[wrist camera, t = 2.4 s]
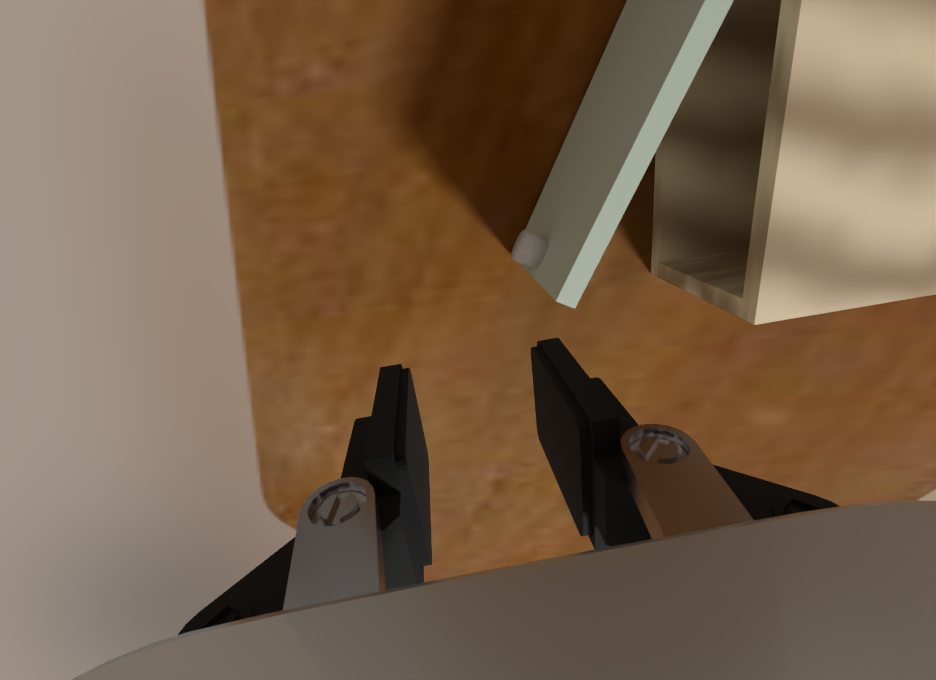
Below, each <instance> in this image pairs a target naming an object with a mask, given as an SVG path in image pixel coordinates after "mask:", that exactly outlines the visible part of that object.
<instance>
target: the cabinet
mask: <svg viewBox="0 0 936 680" xmlns="http://www.w3.org/2000/svg"><path fill="white" fill-rule="evenodd" d="M651 274H653V275H655V276H657V277H659V278H661V279H663V280H665V281H667V282H669V283H671V284H673V285H675V286H677V287H679V288H681V289H683V290H685V291H687V292H689V293H691V294H693V295H695V296H697V297H699V298H701V299H703V300H705V301H707V302H709V303H711V304H713V305H715V306H717V307H719V308H721V309H723V310H725V311H727V312H729V313H731V314H733V315H735V316H737V317H739V318H741V319H743V320H745V321H747V322H749V323H751V324H754V325H757V324H763V323H768V322H774V321H780V320H786V319H792V318H798V317H804V316H810V315H816V314H822V313H828V312H833V311H839V310H845V309H851V308H857V307H863V306H869V305H875V304H881V303H887V302H893V301H898V300H904V299H910V298H916V297H922V296H928V295H934V294H936V0H734V1H733V3H732V5H731V7H730V9H729V10H728V12H727V14H726V16H725V18H724V20H723V22H722V24H721V26H720V28H719V30H718V32H717V34H716V36H715V38H714V40H713V42H712V43H711V45H710V47H709V49H708V51H707V53H706V55H705V57H704V59H703V61H702V63H701V65H700V67H699V69H698V71H697V73H696V75H695V76H694V78H693V80H692V82H691V84H690V86H689V88H688V90H687V92H686V94H685V96H684V98H683V100H682V102H681V104H680V106H679V108H678V109H677V111H676V113H675V115H674V117H673V119H672V121H671V123H670V125H669V127H668V129H667V131H666V133H665V135H664V137H663V139H662V141H661V142H660V144H659V146H658V148H657V150H656V155H655V180H654V206H653V231H652V257H651Z"/></svg>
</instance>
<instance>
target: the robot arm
mask: <svg viewBox="0 0 936 680" xmlns="http://www.w3.org/2000/svg"><path fill="white" fill-rule="evenodd" d="M531 361H532V373H533V385H534V397H535V410H536V422H537V431H538V436H539V440H540V443H541V445H542V447H543V450H544V452H545V454H546V457H547V459H548V461H549V464H550V466H551V468H552V471H553V473H554V475H555V478H556V480H557V482H558V485H559V487H560V489H561V491H562V494H563V496H564V498H565V501H566V503H567V505H568V508H569V510H570V512H571V515H572V517H573V519H574V522H575V524H576V526H577V529H578V531H579V533H580V535H581V536H586V535H589V538H590V540H591V542H592V544H593V546H594V549H595V550H591V551H585V552H580V553H575V554H570V555H564V556H559V557H554V558H548V559H543V560H538V561H533V562H527V563H522V564H517V565H512V566H506V567H501V568H496V569H491V570H486V571H480V572H475V573H470V574H465V575H459V576H454V577H449V578H444V579H439V580H434V581H429V582H424V566H427V565H431V564H432V547H431V517H430V487H429V460H428V452H427V446H426V442H425V437H424V432H423V427H422V423H421V418H420V413H419V408H418V404H417V399H416V394H415V389H414V385H413V380H412V375H411V371H410V368H405V369H403V368H402V365H401V364H398V365H392V366H386V367H381V368H380V372H379V378H378V383H377V389H376V394H375V400H374V405H373V411H372V416H369V417H364V418H358V419H356V420H355V422H354V426H353V430H352V434H351V439H350V443H349V447H348V451H347V455H346V459H345V463H344V467H343V472H342V476H341V478H340V479H337V480H334V481H331V482H328V483H327V484H325V485H323V486H321V487H320V488H318V489H317V490H316V491H314V492H313V493H312V494H311V495H310V496H309V497H308V498H307V500H306V501H305V502H304V504H303V505H302V508H301V511H300V514H299V520H298V525H297V531H296V537H295V538H293V539H292V540H291V541H289V542H288V543H287V544H286V545H284V546H283V547H282V548H280V549H279V550H278V551H277V552H275V553H274V554H273V555H272V556H270V557H269V558H268V559H267V560H265V561H264V562H263V563H262V564H260V565H259V566H257V567H256V568H255V569H254V570H252V571H251V572H250V573H249V574H247V575H246V576H245V577H244V578H243V579H241V580H240V581H238V582H237V583H236V584H235V585H233V586H232V587H231V588H229V589H228V590H227V591H226V592H224V593H223V594H222V595H220V596H219V597H218V598H217V599H215V600H214V601H213V602H212V603H210V604H209V605H208V606H206V607H205V608H204V609H203V610H201V611H200V612H199V613H198V614H197V615H196V616H194V617H193V618H192V619H191V620H190V621H189V622H188V623H187V624H186V625H185V626H184V627H183V629H182V630H181V631H180V633H179V634H178V635H177V636H174V637H171V638H168V639H164V640H161V641H158V642H155V643H151V644H148V645H146V646H144V647H141V648H139V649H136V650H134V651H131V652H129V653H126V654H124V655H121V656H119V657H116V658H114V659H111V660H109V661H107V662H105V663H103V664H101V665H99V666H97V667H95V668H93V669H91V670H89V671H87V672H85V673H83V674H81V675H79V676H78V677H76V678H74V679H72V680H936V501H902V500H899V501H885V502H871V503H861V504H854V505H847V506H838V505H836V504H835V503H833V502H831V501H828V500H826V499H823V498H821V497H818V496H815V495H812V494H809V493H805V492H802V491H799V490H795V489H792V488H789V487H785V486H782V485H779V484H775V483H772V482H769V481H765V480H762V479H759V478H755V477H752V476H749V475H745V474H742V473H739V472H735V471H732V470H729V469H725V468H722V467H719V466H715V465H712V463H711V462H710V461H709V459H708V458H707V457H706V455H705V454H704V453H703V451H702V450H701V449H700V447H699V446H698V445H697V443H696V442H695V441H694V440H693V439H692V438H691V437H690V436H689V435H688V434H686V433H684V432H682V431H681V430H679V429H676V428H673V427H670V426H666V425H660V424H644V425H638V424H637V423H636V421H635V420H634V419H633V418H632V417H631V415H630V414H629V413H628V412H627V411H626V409H625V408H624V407H623V406H622V404H621V403H620V402H619V401H618V400H617V398H616V397H615V396H614V395H613V394H612V392H611V391H610V390H609V389H608V387H607V386H606V385H605V384H604V383H603V381H602V380H601V379H599V378H589V376H588V375H587V374H586V373H585V371H584V370H583V369H582V368H581V366H580V365H579V364H578V362H577V361H576V360H575V359H574V357H573V356H572V355H571V353H570V352H569V351H568V350H567V348H566V347H565V346H564V344H563V343H562V342H561V341H560V339H559V338H553V339H547V340H541V341H538V342H537V347H531Z"/></svg>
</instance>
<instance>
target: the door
mask: <svg viewBox="0 0 936 680" xmlns="http://www.w3.org/2000/svg"><path fill="white" fill-rule="evenodd" d="M733 1H734V0H627V1H626V3H625V6H624V8H623V10H622V12H621V15H620V17H619V19H618V21H617V24H616V26H615V28H614V30H613V33H612V35H611V37H610V39H609V42H608V44H607V46H606V49H605V51H604V53H603V55H602V58H601V60H600V62H599V64H598V67H597V69H596V71H595V73H594V76H593V78H592V80H591V82H590V85H589V87H588V89H587V91H586V94H585V96H584V98H583V100H582V103H581V105H580V107H579V109H578V112H577V114H576V116H575V118H574V121H573V123H572V125H571V127H570V130H569V132H568V134H567V136H566V139H565V141H564V143H563V146H562V148H561V150H560V152H559V155H558V157H557V159H556V161H555V164H554V166H553V168H552V170H551V173H550V175H549V177H548V179H547V182H546V184H545V186H544V188H543V191H542V193H541V195H540V197H539V200H538V202H537V204H536V206H535V209H534V211H533V213H532V215H531V218H530V220H529V222H528V224H527V227H526V229H525V230H523V231H522V232H521V233H520V234H519V236H518V237H517V239H516V241H515V244H514V246H513V250H512V254H511V258H512V260H515V261H517V262H519V263H520V265H521V266H522V267H523V268H524V269H525V270H526V271H527V272H528V273H529V274H530V275H531V276H532V277H533V278H534V279H535V280H536V281H537V282H538V283H539V284H540V285H541V286H542V287H543V288H544V289H545V290H546V291H547V293H548V294H549V295H550V296H551V297H552V298H553V299H554V300H555V301H557V302H559V303H562V304H564V305H567V306H570V307H572V308H576V306H577V304H578V302H579V300H580V298H581V296H582V294H583V292H584V290H585V288H586V286H587V284H588V282H589V280H590V278H591V276H592V275H593V273H594V271H595V269H596V267H597V265H598V263H599V261H600V259H601V257H602V255H603V253H604V251H605V249H606V247H607V245H608V243H609V242H610V240H611V238H612V236H613V234H614V232H615V230H616V228H617V226H618V224H619V222H620V220H621V218H622V216H623V214H624V212H625V210H626V209H627V207H628V205H629V203H630V201H631V199H632V197H633V195H634V193H635V191H636V189H637V187H638V185H639V183H640V181H641V179H642V177H643V175H644V174H645V172H646V170H647V168H648V166H649V164H650V162H651V160H652V158H653V156H654V154H655V152H656V150H657V148H658V146H659V144H660V142H661V141H662V139H663V137H664V135H665V133H666V131H667V129H668V127H669V125H670V123H671V121H672V119H673V117H674V115H675V113H676V111H677V109H678V108H679V106H680V104H681V102H682V100H683V98H684V96H685V94H686V92H687V90H688V88H689V86H690V84H691V82H692V80H693V78H694V76H695V75H696V73H697V71H698V69H699V67H700V65H701V63H702V61H703V59H704V57H705V55H706V53H707V51H708V49H709V47H710V45H711V43H712V42H713V40H714V38H715V36H716V34H717V32H718V30H719V28H720V26H721V24H722V22H723V20H724V18H725V16H726V14H727V12H728V10H729V9H730V7H731V5H732V3H733Z"/></svg>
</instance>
